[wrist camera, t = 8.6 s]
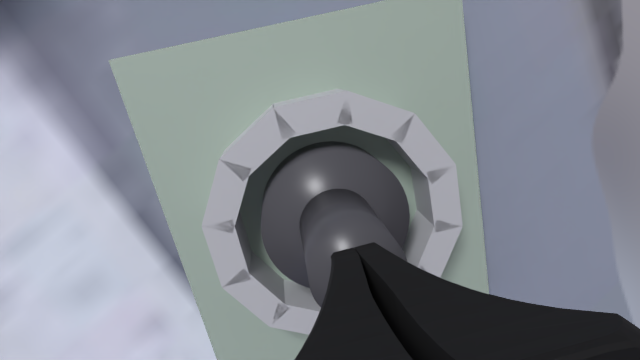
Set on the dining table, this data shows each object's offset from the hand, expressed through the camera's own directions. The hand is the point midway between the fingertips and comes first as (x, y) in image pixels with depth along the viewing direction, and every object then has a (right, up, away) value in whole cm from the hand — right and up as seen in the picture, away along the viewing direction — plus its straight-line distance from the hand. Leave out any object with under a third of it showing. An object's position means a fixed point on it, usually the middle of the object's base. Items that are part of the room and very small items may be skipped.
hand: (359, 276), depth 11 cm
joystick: (-1, +2, +6) cm, 6 cm away
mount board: (-1, +2, +7) cm, 7 cm away
